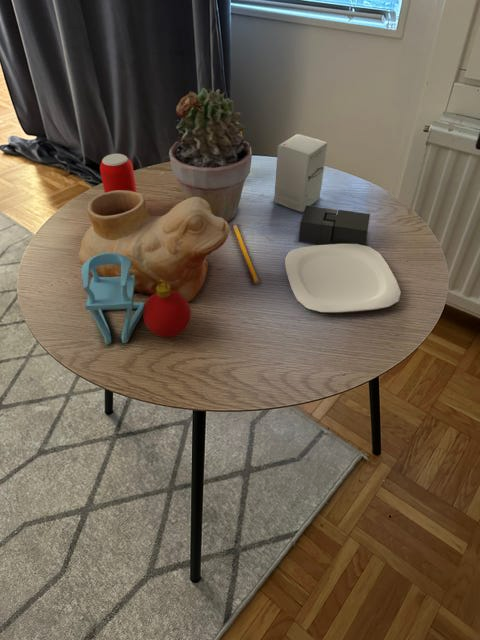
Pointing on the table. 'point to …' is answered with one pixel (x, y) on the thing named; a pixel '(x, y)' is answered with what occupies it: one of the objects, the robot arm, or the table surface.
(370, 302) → the plate
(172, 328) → the christmas ornament
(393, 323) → the table surface
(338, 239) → the black rectangular block
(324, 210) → the socket pad
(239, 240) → the pencil
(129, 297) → the chair
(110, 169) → the beverage can
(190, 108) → the potted plant
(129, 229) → the ceramic vessel
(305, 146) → the white packaging box
